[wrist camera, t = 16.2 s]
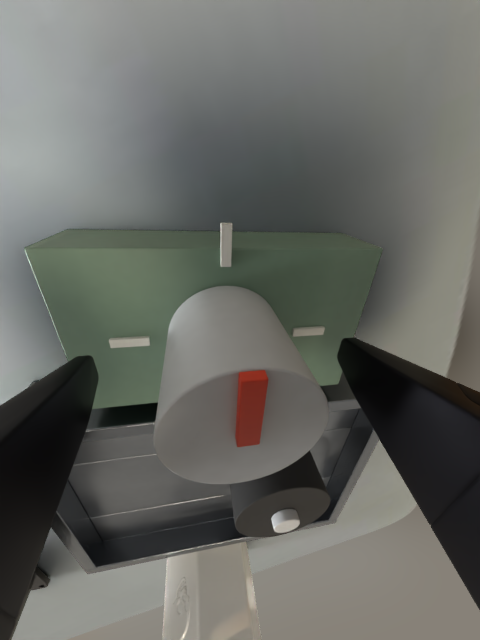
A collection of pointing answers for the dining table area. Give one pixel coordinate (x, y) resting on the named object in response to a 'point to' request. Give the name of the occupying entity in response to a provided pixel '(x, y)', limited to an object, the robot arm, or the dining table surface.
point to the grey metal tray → (202, 536)
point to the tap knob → (234, 391)
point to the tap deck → (188, 279)
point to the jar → (210, 596)
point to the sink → (166, 483)
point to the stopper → (280, 500)
